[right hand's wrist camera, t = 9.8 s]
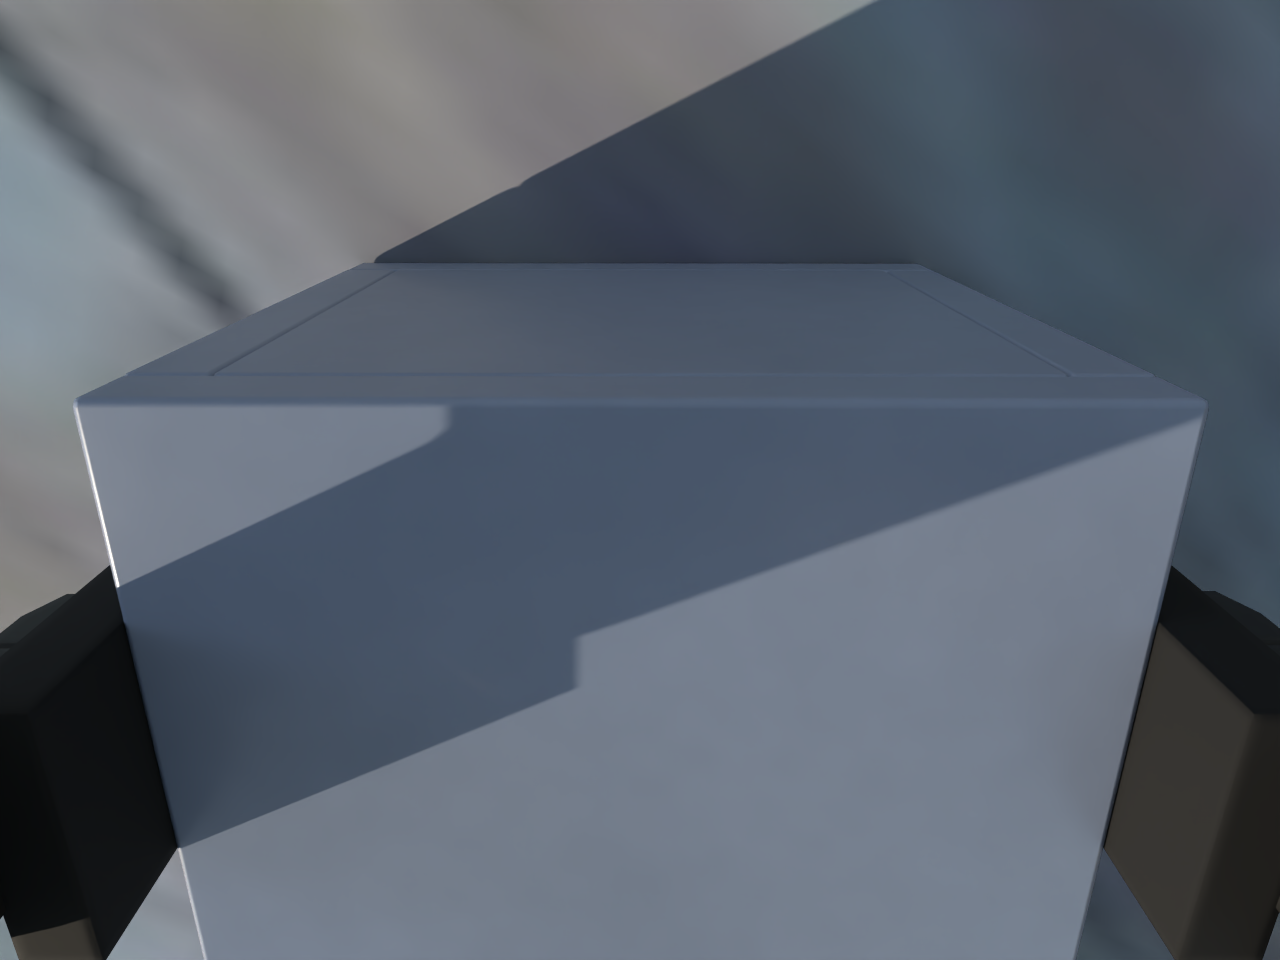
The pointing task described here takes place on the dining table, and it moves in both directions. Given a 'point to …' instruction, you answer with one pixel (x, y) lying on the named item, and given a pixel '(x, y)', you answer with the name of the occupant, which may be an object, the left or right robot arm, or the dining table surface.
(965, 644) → the cabinet
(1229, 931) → the right robot arm
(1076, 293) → the dining table surface
